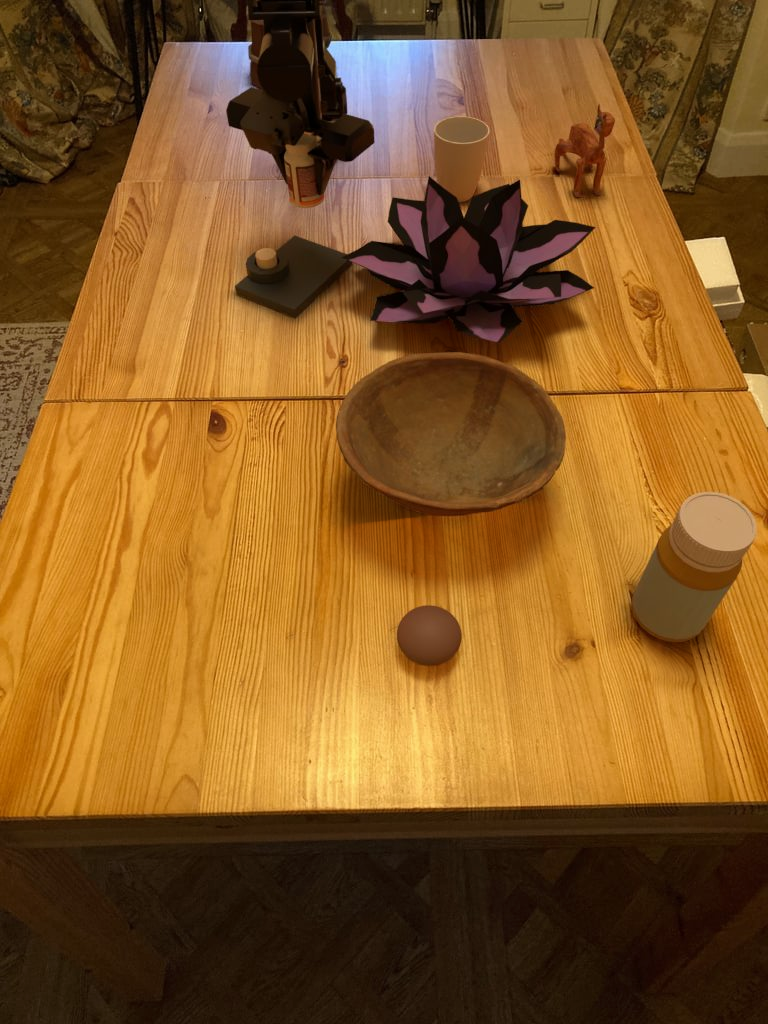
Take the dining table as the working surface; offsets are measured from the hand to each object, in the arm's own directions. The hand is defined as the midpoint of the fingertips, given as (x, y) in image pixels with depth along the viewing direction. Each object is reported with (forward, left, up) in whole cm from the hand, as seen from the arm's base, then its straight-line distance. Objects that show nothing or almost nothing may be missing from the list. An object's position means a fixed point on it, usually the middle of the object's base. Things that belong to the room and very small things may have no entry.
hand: (305, 188), depth 101 cm
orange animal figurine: (+23, +41, -11) cm, 48 cm away
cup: (+9, +26, -11) cm, 30 cm away
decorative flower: (+22, +4, -11) cm, 25 cm away
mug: (-37, +46, -11) cm, 60 cm away
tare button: (-3, -7, -8) cm, 11 cm away
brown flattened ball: (+44, -45, -11) cm, 64 cm away
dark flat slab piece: (0, -5, -11) cm, 12 cm away
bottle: (+62, -30, -11) cm, 70 cm away
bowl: (+36, -27, -11) cm, 46 cm away
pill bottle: (0, 0, -2) cm, 2 cm away
